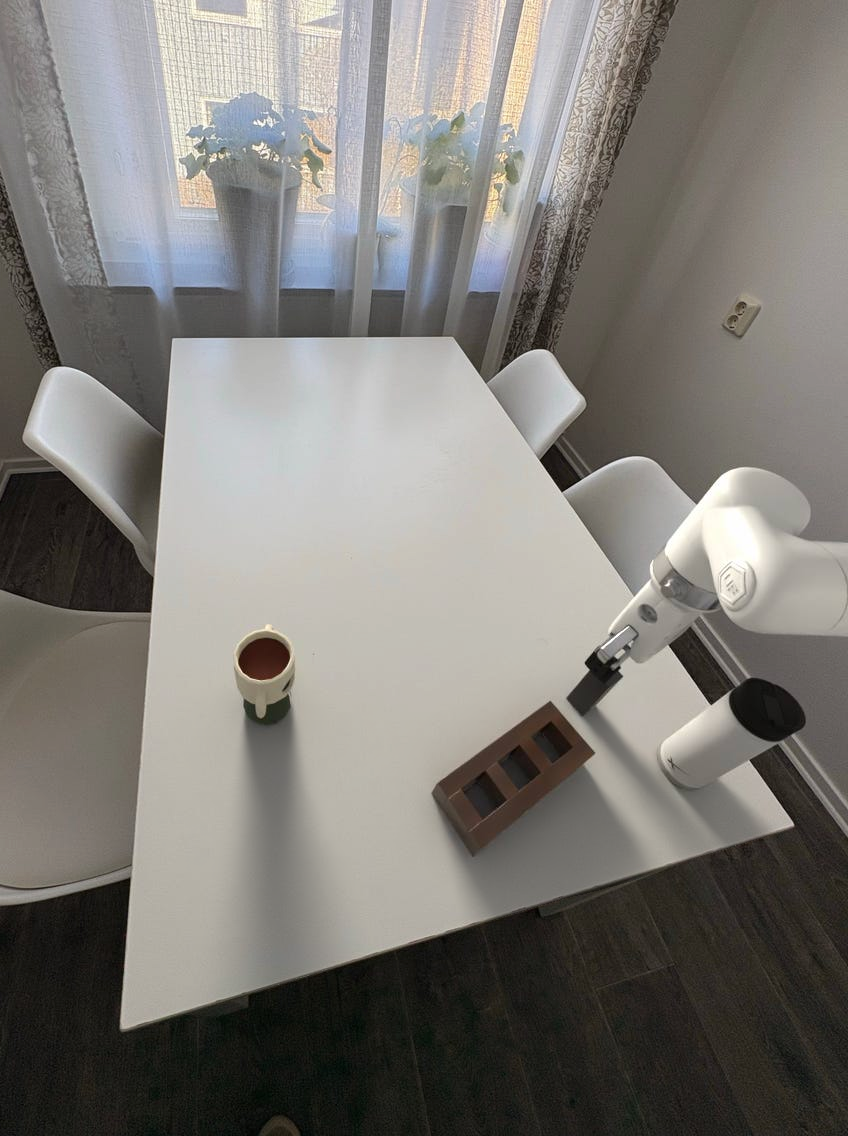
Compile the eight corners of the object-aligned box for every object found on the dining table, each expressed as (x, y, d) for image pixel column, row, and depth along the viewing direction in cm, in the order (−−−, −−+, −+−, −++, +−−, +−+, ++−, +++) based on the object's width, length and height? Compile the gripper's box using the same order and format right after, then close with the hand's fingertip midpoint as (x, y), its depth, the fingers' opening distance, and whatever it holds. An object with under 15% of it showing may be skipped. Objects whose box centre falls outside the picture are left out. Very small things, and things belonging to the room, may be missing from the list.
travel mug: (657, 782, 68) (752, 720, 54) (654, 733, 73) (741, 664, 59) (708, 801, 67) (818, 743, 53) (702, 750, 72) (802, 684, 58)
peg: (595, 705, 75) (623, 676, 69) (581, 716, 74) (609, 687, 67) (579, 688, 77) (605, 657, 70) (565, 698, 75) (591, 668, 69)
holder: (583, 764, 69) (596, 753, 66) (472, 857, 60) (481, 849, 58) (540, 712, 73) (550, 700, 71) (431, 792, 65) (437, 782, 62)
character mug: (291, 745, 67) (291, 701, 58) (234, 745, 66) (225, 700, 57) (297, 665, 75) (298, 615, 66) (246, 664, 74) (239, 613, 65)
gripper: (676, 640, 48) (599, 715, 60) (771, 567, 56) (685, 647, 68) (611, 580, 52) (551, 662, 64) (708, 519, 60) (638, 603, 72)
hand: (620, 654), depth 66 cm, fingers open, 9 cm apart
